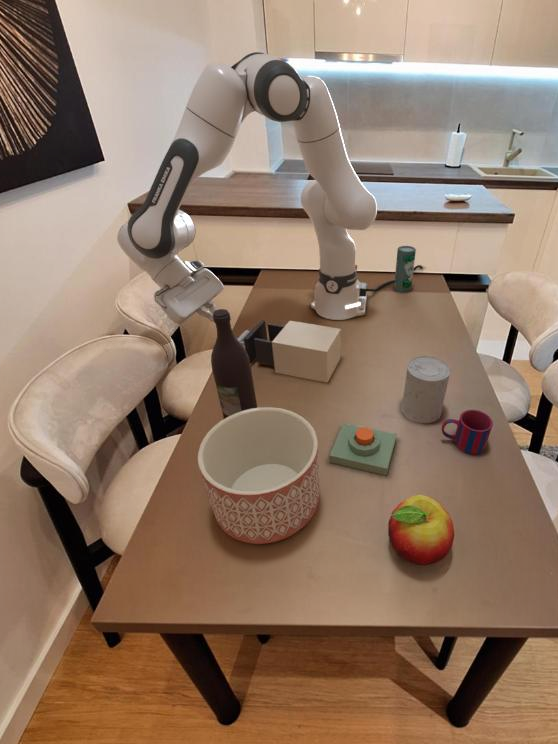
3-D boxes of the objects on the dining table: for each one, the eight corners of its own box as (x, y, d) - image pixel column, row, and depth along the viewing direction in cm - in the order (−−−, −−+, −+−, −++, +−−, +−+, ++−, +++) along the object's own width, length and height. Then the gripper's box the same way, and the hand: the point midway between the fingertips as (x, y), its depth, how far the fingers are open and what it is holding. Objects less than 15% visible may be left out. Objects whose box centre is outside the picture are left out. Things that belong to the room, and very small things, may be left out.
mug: (486, 456, 84) (494, 433, 80) (438, 449, 86) (443, 426, 81) (484, 434, 89) (491, 412, 85) (439, 427, 91) (444, 405, 87)
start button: (358, 431, 84) (358, 425, 83) (374, 435, 83) (375, 429, 82) (353, 443, 81) (353, 437, 80) (370, 447, 81) (371, 441, 79)
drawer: (233, 360, 108) (228, 335, 103) (250, 341, 116) (247, 317, 111) (294, 372, 105) (292, 347, 100) (308, 351, 112) (307, 327, 108)
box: (343, 429, 90) (343, 416, 87) (395, 441, 87) (397, 427, 85) (329, 462, 82) (329, 449, 79) (386, 475, 80) (388, 462, 77)
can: (408, 293, 146) (413, 252, 137) (392, 290, 148) (396, 250, 138) (412, 287, 150) (417, 247, 141) (396, 284, 152) (400, 244, 143)
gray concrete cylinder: (417, 391, 101) (424, 351, 93) (449, 410, 96) (459, 368, 88) (393, 408, 95) (398, 367, 88) (425, 429, 90) (433, 386, 83)
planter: (330, 533, 69) (330, 478, 60) (216, 562, 65) (196, 507, 56) (308, 453, 84) (305, 399, 75) (213, 472, 79) (197, 417, 70)
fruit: (457, 573, 64) (469, 539, 58) (390, 578, 63) (396, 544, 57) (440, 515, 73) (449, 480, 66) (381, 518, 72) (385, 483, 66)
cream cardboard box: (275, 372, 106) (271, 342, 100) (291, 350, 115) (289, 320, 109) (327, 382, 103) (327, 351, 97) (340, 358, 112) (340, 328, 106)
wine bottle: (226, 429, 89) (197, 306, 70) (257, 421, 91) (237, 300, 73) (231, 451, 84) (202, 325, 65) (265, 442, 86) (245, 318, 67)
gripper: (155, 288, 94) (200, 331, 98) (203, 258, 109) (241, 296, 113) (144, 302, 97) (188, 343, 101) (192, 271, 113) (229, 308, 117)
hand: (216, 318), depth 107 cm, fingers closed
